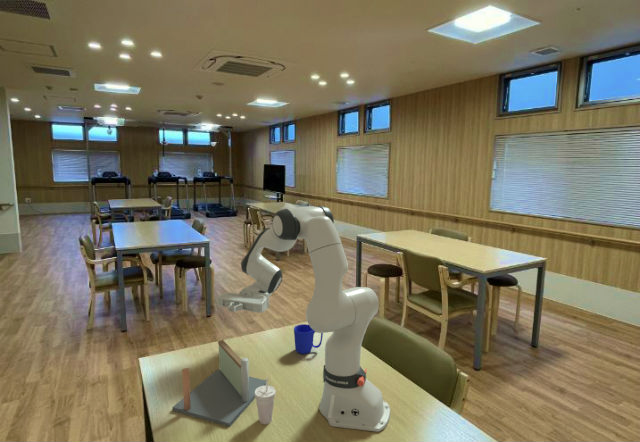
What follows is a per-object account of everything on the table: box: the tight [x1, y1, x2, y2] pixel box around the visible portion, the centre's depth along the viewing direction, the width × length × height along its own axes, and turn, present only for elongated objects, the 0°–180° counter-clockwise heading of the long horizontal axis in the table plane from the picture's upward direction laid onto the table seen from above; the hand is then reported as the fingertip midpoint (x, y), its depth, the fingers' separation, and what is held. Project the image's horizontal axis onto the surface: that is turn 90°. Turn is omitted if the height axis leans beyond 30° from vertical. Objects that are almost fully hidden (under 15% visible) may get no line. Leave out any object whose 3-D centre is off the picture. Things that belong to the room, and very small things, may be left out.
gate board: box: [172, 357, 266, 428], centre depth 127 cm, size 21×24×15 cm
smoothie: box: [254, 377, 277, 425], centre depth 116 cm, size 6×6×14 cm
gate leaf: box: [217, 339, 242, 396], centre depth 133 cm, size 20×2×11 cm, turn 35°
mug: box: [293, 323, 324, 355], centre depth 159 cm, size 8×12×10 cm
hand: (230, 309), depth 143 cm, fingers closed
